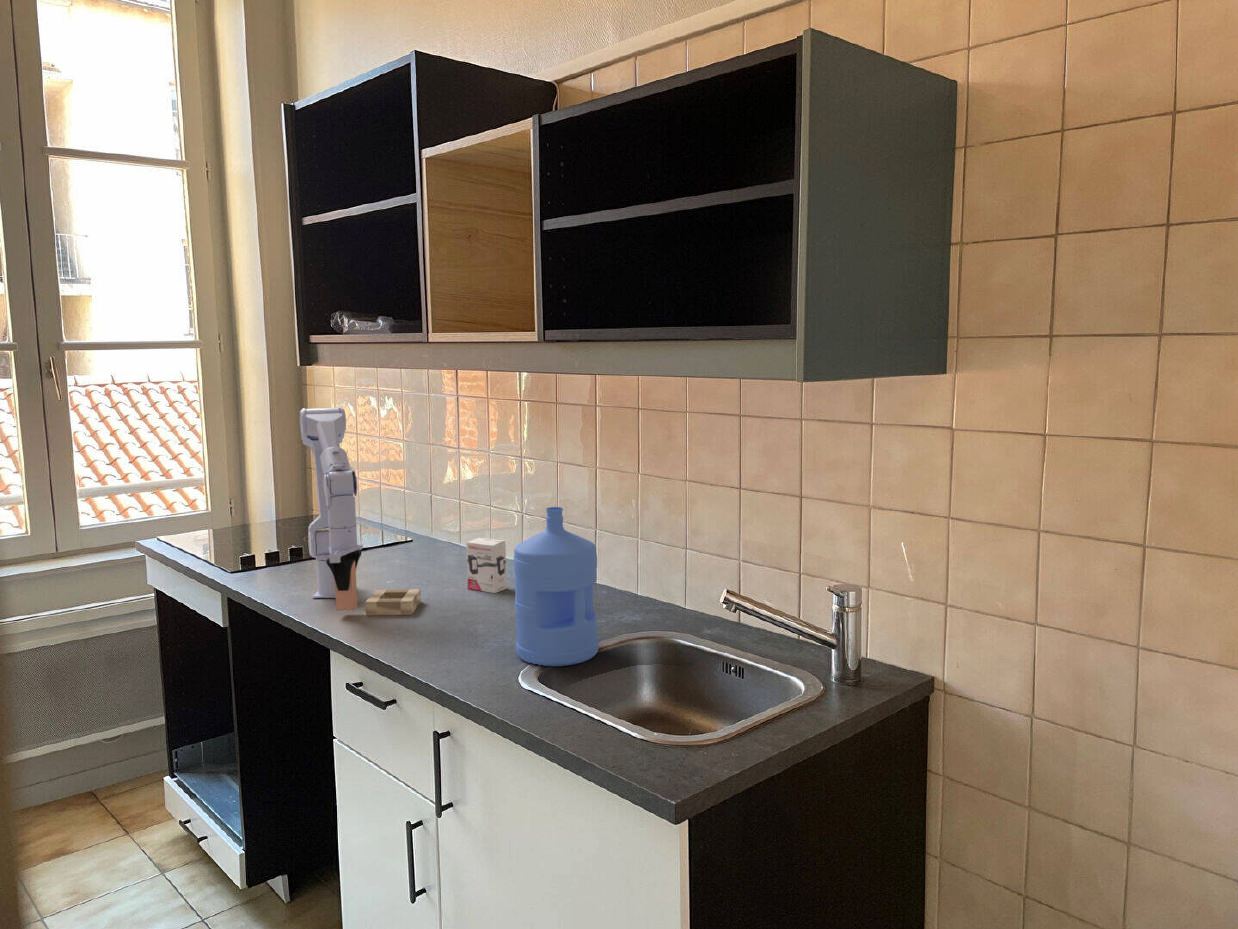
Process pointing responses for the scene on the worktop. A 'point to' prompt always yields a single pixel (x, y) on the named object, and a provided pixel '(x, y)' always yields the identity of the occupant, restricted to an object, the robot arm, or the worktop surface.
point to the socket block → (393, 602)
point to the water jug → (555, 596)
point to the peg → (347, 593)
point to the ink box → (486, 565)
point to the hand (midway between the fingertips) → (345, 587)
